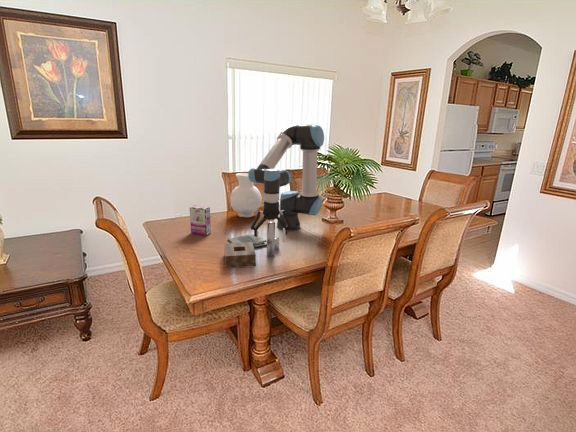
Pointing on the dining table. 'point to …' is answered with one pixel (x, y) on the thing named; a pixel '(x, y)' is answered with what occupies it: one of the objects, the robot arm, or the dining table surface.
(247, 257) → the hole block
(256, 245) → the dish towel
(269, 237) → the long pin
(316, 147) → the robot arm
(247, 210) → the vase
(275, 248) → the short pin
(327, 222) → the dining table surface
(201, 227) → the candy bar box
